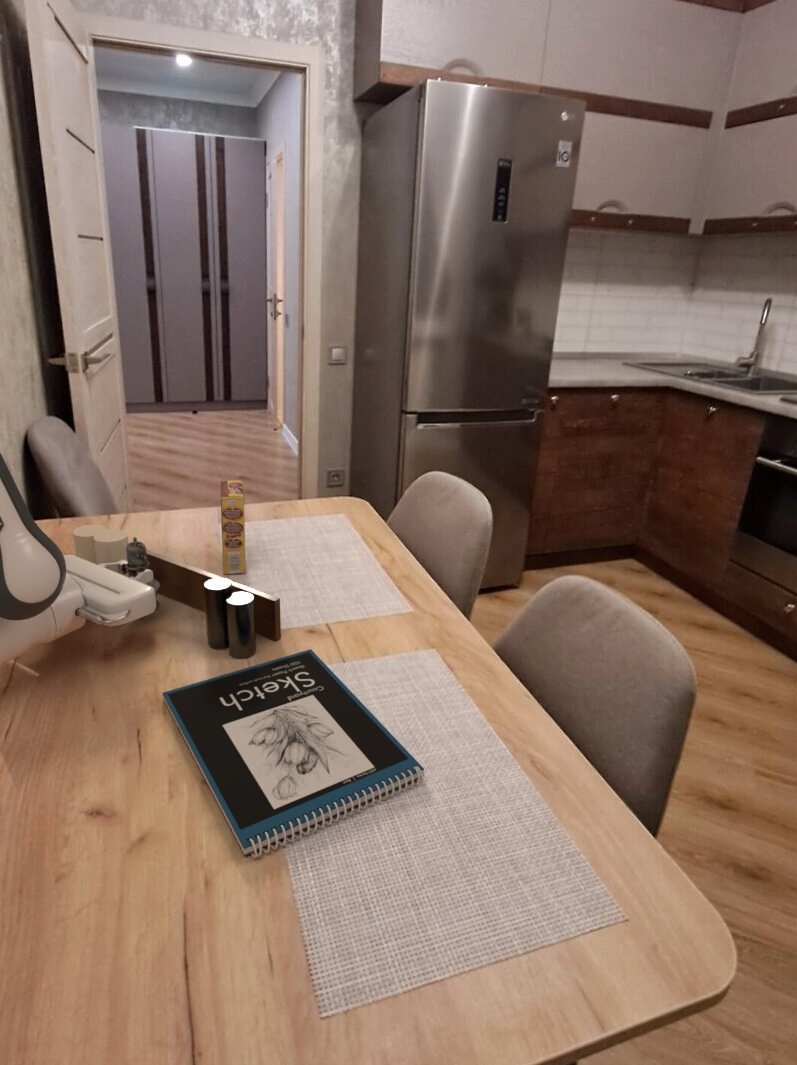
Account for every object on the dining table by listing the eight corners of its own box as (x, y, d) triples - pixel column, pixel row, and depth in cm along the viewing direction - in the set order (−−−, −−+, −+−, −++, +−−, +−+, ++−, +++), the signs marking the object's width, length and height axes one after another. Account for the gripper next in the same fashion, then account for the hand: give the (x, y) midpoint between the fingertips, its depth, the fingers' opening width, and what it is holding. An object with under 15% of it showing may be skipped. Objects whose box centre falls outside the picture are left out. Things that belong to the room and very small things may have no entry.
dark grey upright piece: (129, 619, 101) (121, 547, 97) (117, 604, 106) (108, 534, 101) (167, 609, 105) (161, 539, 100) (153, 594, 109) (147, 526, 105)
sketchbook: (310, 656, 99) (310, 644, 98) (428, 785, 76) (429, 770, 75) (162, 700, 88) (161, 686, 87) (248, 866, 65) (247, 850, 64)
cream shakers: (74, 590, 113) (64, 528, 109) (101, 579, 118) (92, 519, 113) (116, 609, 108) (107, 544, 104) (142, 596, 113) (135, 534, 108)
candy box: (247, 574, 122) (244, 495, 116) (223, 575, 121) (218, 496, 115) (245, 553, 130) (242, 479, 124) (222, 555, 129) (218, 480, 123)
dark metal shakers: (202, 644, 100) (197, 585, 96) (221, 632, 103) (217, 575, 100) (243, 662, 96) (240, 601, 93) (262, 649, 100) (259, 590, 96)
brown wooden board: (113, 575, 119) (108, 539, 117) (118, 572, 120) (114, 537, 118) (276, 641, 102) (274, 601, 99) (281, 638, 103) (280, 598, 100)
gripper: (101, 605, 86) (184, 568, 97) (9, 564, 95) (94, 534, 106) (107, 647, 88) (188, 606, 99) (16, 603, 98) (99, 570, 109)
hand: (139, 569), depth 103 cm, fingers closed on dark grey upright piece, 3 cm apart
